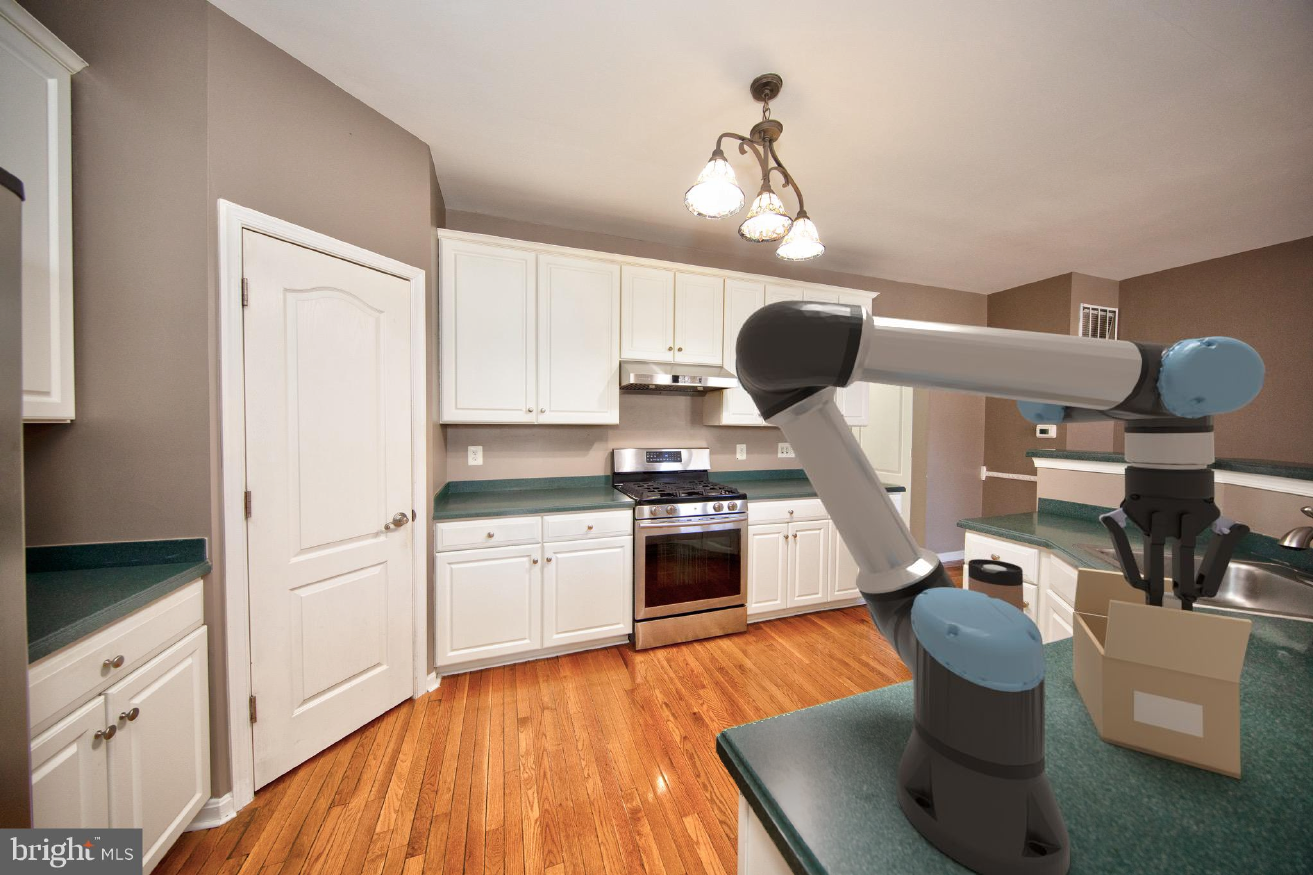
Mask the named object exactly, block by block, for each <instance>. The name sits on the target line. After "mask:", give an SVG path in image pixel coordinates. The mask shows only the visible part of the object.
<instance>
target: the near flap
mask: <svg viewBox="0 0 1313 875" xmlns="http://www.w3.org/2000/svg"><path fill="white" fill-rule="evenodd" d="M1252 625H1253V622H1252V620H1251V619H1247V618H1240V617H1234V616H1227V615H1221V614H1214V613H1213V614H1212V613H1205V612H1199V611H1194V610H1193V611H1186V610H1179V609H1172V608H1165V607H1159V606H1152V605H1145V604H1138V603H1131V602H1124V601H1117V600H1110V602H1109V612H1108V621H1107V630H1106V639H1105V648H1104V656H1105V657H1110V658H1115V659H1120V660H1125V661H1130V662H1135V663H1140V664H1145V665H1150V666H1155V667H1160V668H1165V669H1170V670H1175V671H1181V672H1186V673H1191V674H1196V675H1201V676H1206V677H1211V678H1216V679H1221V680H1226V681H1231V682H1236V683H1239V684H1240V679H1241V674H1242V669H1243V665H1244V662H1245V656H1246V652H1247V648H1248V645H1249V644H1248V643H1249V638H1250V635H1251V630H1252Z"/></svg>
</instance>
